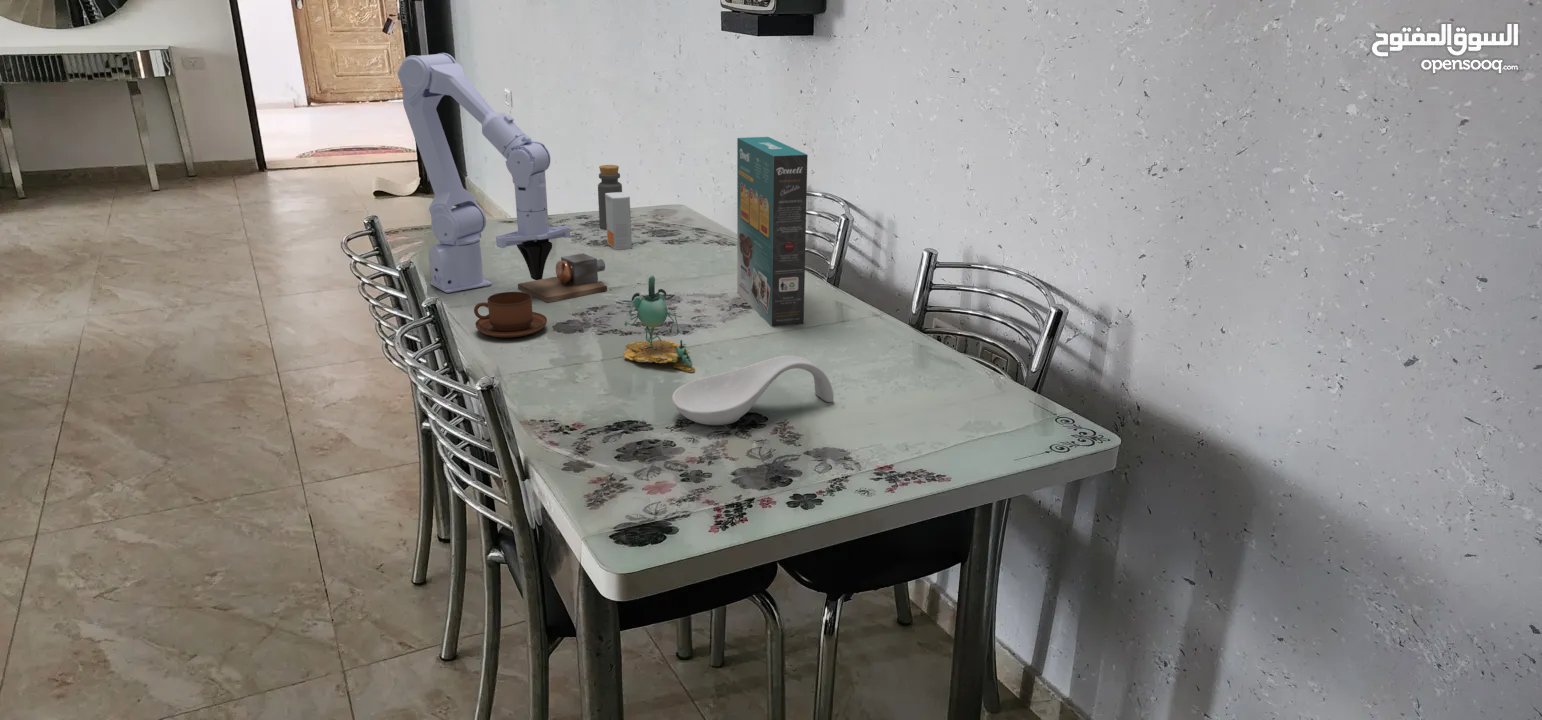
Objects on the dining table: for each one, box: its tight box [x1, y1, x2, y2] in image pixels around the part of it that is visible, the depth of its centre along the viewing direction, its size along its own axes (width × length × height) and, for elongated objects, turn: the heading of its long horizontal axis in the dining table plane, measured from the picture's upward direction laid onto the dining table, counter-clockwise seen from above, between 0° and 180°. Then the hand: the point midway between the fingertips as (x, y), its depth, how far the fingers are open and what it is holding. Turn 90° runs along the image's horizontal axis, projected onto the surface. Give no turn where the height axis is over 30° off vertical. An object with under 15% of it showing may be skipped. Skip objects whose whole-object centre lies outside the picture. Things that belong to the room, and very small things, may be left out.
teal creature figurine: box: [623, 275, 696, 374], centre depth 162 cm, size 10×18×15 cm, turn 31°
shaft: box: [555, 258, 606, 284], centre depth 201 cm, size 9×4×4 cm, turn 130°
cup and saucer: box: [473, 291, 548, 339], centre depth 174 cm, size 12×12×6 cm
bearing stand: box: [517, 253, 608, 304], centre depth 198 cm, size 13×12×6 cm
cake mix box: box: [736, 136, 808, 328], centre depth 185 cm, size 22×6×30 cm, turn 18°
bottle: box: [597, 164, 623, 230], centre depth 248 cm, size 6×6×15 cm
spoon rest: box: [671, 355, 834, 426], centre depth 143 cm, size 24×12×7 cm, turn 116°
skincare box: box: [605, 191, 633, 251], centre depth 230 cm, size 6×4×12 cm
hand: (536, 278), depth 195 cm, fingers closed
